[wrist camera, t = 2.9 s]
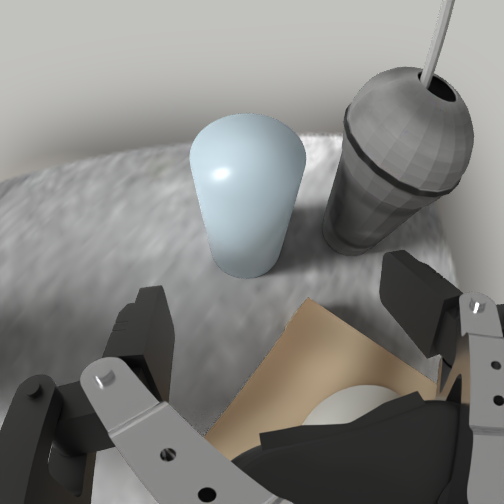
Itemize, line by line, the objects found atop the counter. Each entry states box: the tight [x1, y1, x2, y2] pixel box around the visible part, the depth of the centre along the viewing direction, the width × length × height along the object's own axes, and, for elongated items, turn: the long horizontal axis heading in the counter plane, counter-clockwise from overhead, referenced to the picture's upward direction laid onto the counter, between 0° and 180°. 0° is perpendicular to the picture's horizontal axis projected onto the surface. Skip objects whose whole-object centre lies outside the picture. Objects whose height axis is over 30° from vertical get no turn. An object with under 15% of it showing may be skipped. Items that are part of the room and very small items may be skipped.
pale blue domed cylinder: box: [190, 113, 306, 279], centre depth 19 cm, size 5×5×11 cm
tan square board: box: [203, 297, 437, 461], centre depth 17 cm, size 12×14×4 cm
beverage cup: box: [322, 0, 474, 256], centre depth 16 cm, size 7×7×20 cm
